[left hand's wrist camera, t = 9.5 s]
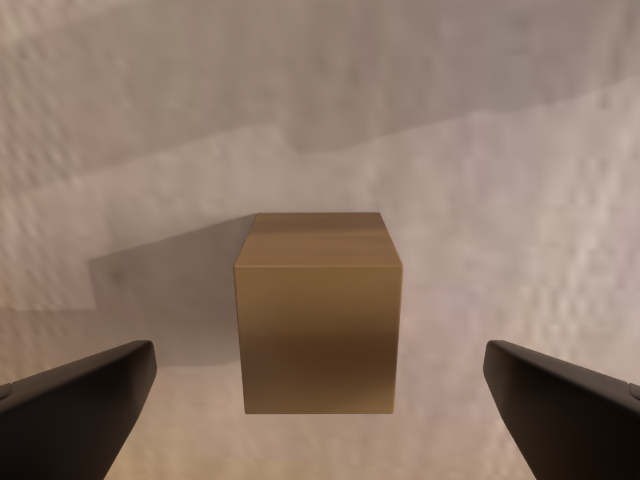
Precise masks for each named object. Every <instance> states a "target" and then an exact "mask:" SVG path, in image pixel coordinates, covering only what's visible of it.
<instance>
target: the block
mask: <svg viewBox="0 0 640 480" xmlns="http://www.w3.org/2000/svg"><path fill="white" fill-rule="evenodd" d="M233 270H234V283H235V295H236V308H237V320H238V332H239V345H240V357H241V370H242V382H243V395H244V407H245V414H392V413H393V412H394V398H395V383H396V368H397V353H398V338H399V324H400V309H401V294H402V279H403V264H402V262H401V260H400V257H399V255H398V253H397V251H396V248H395V246H394V244H393V242H392V239H391V237H390V235H389V233H388V230H387V228H386V226H385V224H384V221H383V219H382V217H381V215H380V213H258V214H257V216H256V218H255V220H254V223H253V225H252V227H251V229H250V231H249V234H248V236H247V238H246V240H245V242H244V244H243V247H242V249H241V251H240V253H239V255H238V257H237V260H236V262H235V264H234V266H233Z"/></svg>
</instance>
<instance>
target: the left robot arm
mask: <svg viewBox="0 0 640 480" xmlns="http://www.w3.org/2000/svg"><path fill="white" fill-rule="evenodd" d="M156 372H157V365H156V358H155V352H154V346H153V343H152V342H151V341H149V340H137V341H133V342H130V343H127V344H124V345H122V346H119V347H116V348H113V349H110V350H107V351H104V352H101V353H98V354H95V355H92V356H89V357H86V358H83V359H80V360H77V361H74V362H71V363H68V364H66V365H63V366H60V367H57V368H54V369H51V370H48V371H45V372H42V373H39V374H36V375H33V376H30V377H27V378H24V379H21V380H18V381H15V382H13V383H12V385H11V383H8V384H5V385H2V386H0V480H104V478H105V476H106V474H107V472H108V471H109V469H110V467H111V465H112V464H113V462H114V460H115V458H116V457H117V455H118V453H119V451H120V450H121V448H122V446H123V444H124V443H125V441H126V439H127V437H128V436H129V434H130V432H131V430H132V429H133V427H134V425H135V423H136V421H137V419H138V417H139V415H140V413H141V411H142V408H143V406H144V403H145V401H146V399H147V396H148V394H149V391H150V389H151V386H152V384H153V382H154V379H155V377H156ZM483 372H484V377H485V379H486V382H487V384H488V386H489V389H490V391H491V394H492V396H493V399H494V401H495V403H496V406H497V408H498V411H499V413H500V415H501V417H502V419H503V421H504V423H505V425H506V427H507V429H508V430H509V432H510V434H511V436H512V437H513V439H514V441H515V443H516V444H517V446H518V448H519V450H520V451H521V453H522V455H523V457H524V458H525V460H526V462H527V464H528V465H529V467H530V469H531V471H532V472H533V474H534V476H535V478H536V480H640V386H638V385H635V384H632V383H629V384H628V383H627V382H625V381H622V380H619V379H616V378H613V377H610V376H607V375H604V374H601V373H598V372H595V371H592V370H589V369H586V368H583V367H580V366H577V365H574V364H572V363H569V362H566V361H563V360H560V359H557V358H554V357H551V356H548V355H545V354H542V353H539V352H536V351H533V350H530V349H527V348H524V347H521V346H518V345H516V344H513V343H510V342H507V341H503V340H491V341H489V342H488V343H487V346H486V352H485V358H484V365H483Z"/></svg>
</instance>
